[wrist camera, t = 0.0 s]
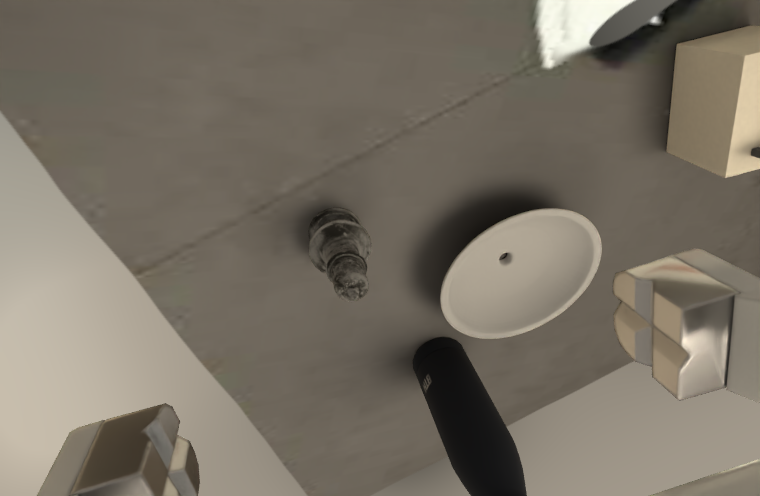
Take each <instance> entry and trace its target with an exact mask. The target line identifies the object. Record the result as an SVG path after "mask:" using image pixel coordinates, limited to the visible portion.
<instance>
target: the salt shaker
mask: <svg viewBox="0 0 760 496" xmlns="http://www.w3.org/2000/svg"><path fill="white" fill-rule="evenodd" d="M309 239H310V244H309V256H310V259H311V261H312V263H313V264H314V266H315V267H316V268H317V269H319V270H320V271H321V272H323V273H326V274H327V277H328V279H329V280H330V281H331V282H332V283H333V284H334V288H335V291H336V293H337V295H338V296H339V297H340V298H341V299H342V300H345V301H349V302H352V301H357V300H360V299H361V298H363V297H364V296H365V295H366V293H367V291H368V285H369V283H368V279H367V277H366V272H367V264H366V261H367V259H368V258H369V255H370V252H371V240H370V236H369V235H368V233H367V231H366V230H365V229H364V228H363V227H362V226H361V223H360V221H359V219H358V218H357V216H356V215H355V214H353V213H352V212H351V211H349V210H347V209H343V208H330V209H327V210H324V211H322V212H321V213H319V214H318V215H317V216H316V217H315V218H314V219H313V221H312V222H311V224H310V228H309Z"/></svg>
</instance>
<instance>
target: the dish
mask: <svg viewBox="0 0 760 496" xmlns="http://www.w3.org/2000/svg"><path fill="white" fill-rule="evenodd" d="M504 253H507V257H506V258H505V259H502V260H501V259H499V258H500V256H501V255H502V254H504ZM600 258H601V239H600V236H599V233H598V231H597V229H596V228H595V226H594V225H593V224H592V223H591V222H590V220H588V219H587V218H586V217H584V216H582V215H581V214H579V213H576V212H574V211H570V210H566V209H559V208H544V209H536V210H531V211H527V212H523V213H520V214H517V215H514V216H511V217H509V218H507V219H505V220H502V221H500V222H499V223H497V224H495V225H493V226H491V227H490V228H488V229H487V230H485V231H484V232H482V233H481V234H480V235H478V236H477V237H476V238H475V239H473V240H472V241H471V242H470V243H469V244H468V245H467V246H466V247H465V248H464V249H463V250H462V251H461V252H460V253H459V255H458V256H457V257H456V258H455V260H454V261H453V263H452V264H451V266H450V268H449V269H448V271H447V273H446V275H445V278H444V280H443V284H442V288H441V294H440V303H441V309H442V312H443V315H444V317H445V318H446V320H447V321H448V323H449V324H450V325H451V326H452V327H453V328H455V329H456V330H458V331H459V332H461V333H463V334H465V335H468V336H471V337H476V338H483V339H496V338H505V337H510V336H514V335H518V334H521V333H524V332H527V331H530V330H532V329H534V328H537V327H539V326H541V325H543V324H545V323H546V322H548V321H550V320H551V319H553V318H555V317H556V316H558V315H559V314H560V313H562V312H563V311H564V310H566V309H567V308H568V307H569V306H570V305H571V304H572V303H574V302H575V301H576V300H577V299H578V297H579V296H580V295H581V294H582V293H583V292H584V290H585V289H586V288H587V286H588V285H589V284H590V282H591V280H592V279H593V277H594V275H595V273H596V271H597V268H598V265H599V262H600Z"/></svg>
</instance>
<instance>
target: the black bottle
mask: <svg viewBox="0 0 760 496" xmlns="http://www.w3.org/2000/svg"><path fill="white" fill-rule="evenodd" d="M413 369H414V371H415V374H416V376H417V379H418V381H419V384H420V386H421V389H422V391H423V394H424V396H425V399H426V401H427V404H428V406H429V409H430V411H431V414H432V416H433V419H434V422H435V424H436V427H437V429H438V432H439V434H440V437H441V439H442V442H443V444H444V447H445V449H446V452H447V454H448V457H449V459H450V462H451V464H452V467H453V469H454V470H455V472H456V474H457V475H458V477H459V478H460V480H461V482H462V483H463V485H464V486H465V488H466V489H467V491H468V492H469V494H470V495H471V496H527V495H526V487H525V480H524V474H523V468H522V465H521V461H520V457H519V454H518V451H517V448H516V445H515V443H514V441H513V438H512V437H511V435H510V433H509V431H508V429H507V427H506V426H505V424H504V422H503V420H502V418H501V416H500V415H499V413H498V411H497V409H496V407H495V406H494V404H493V402H492V400H491V398H490V396H489V395H488V393H487V391H486V389H485V387H484V386H483V384H482V382H481V380H480V378H479V376H478V375H477V373H476V371H475V369H474V367H473V365H472V364H471V362H470V360H469V358H468V356H467V355H466V353H465V351H464V349H463V347H462V345H461V344H460V343H459V342H457V341H456V340H454V339H451V338H437V339H433V340H431V341H429V342H427V343H425V344H424V345H423V346H422V347H420V348H419V349H418V351H417V352H416V354H415V356H414V359H413Z"/></svg>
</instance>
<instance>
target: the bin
mask: <svg viewBox="0 0 760 496" xmlns="http://www.w3.org/2000/svg"><path fill="white" fill-rule="evenodd" d="M666 152H667V153H670V154H672V155H674V156H676V157H679V158H681V159H683V160H685V161H688V162H690V163H692V164H695V165H697V166H699V167H701V168H704V169H706V170H708V171H710V172H713V173H715V174H717V175H719V176H722V177H724V178H727V177H731V176H734V175H738V174H742V173H745V172H749V171H752V170H756V169H759V168H760V26H754V25H751V26H747V27H743V28H739V29H735V30H731V31H727V32H723V33H719V34H715V35H711V36H707V37H703V38H699V39H695V40H691V41H687V42H683V43H679V44H677V47H676V57H675V67H674V78H673V88H672V98H671V109H670V119H669V130H668V140H667V150H666Z"/></svg>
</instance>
